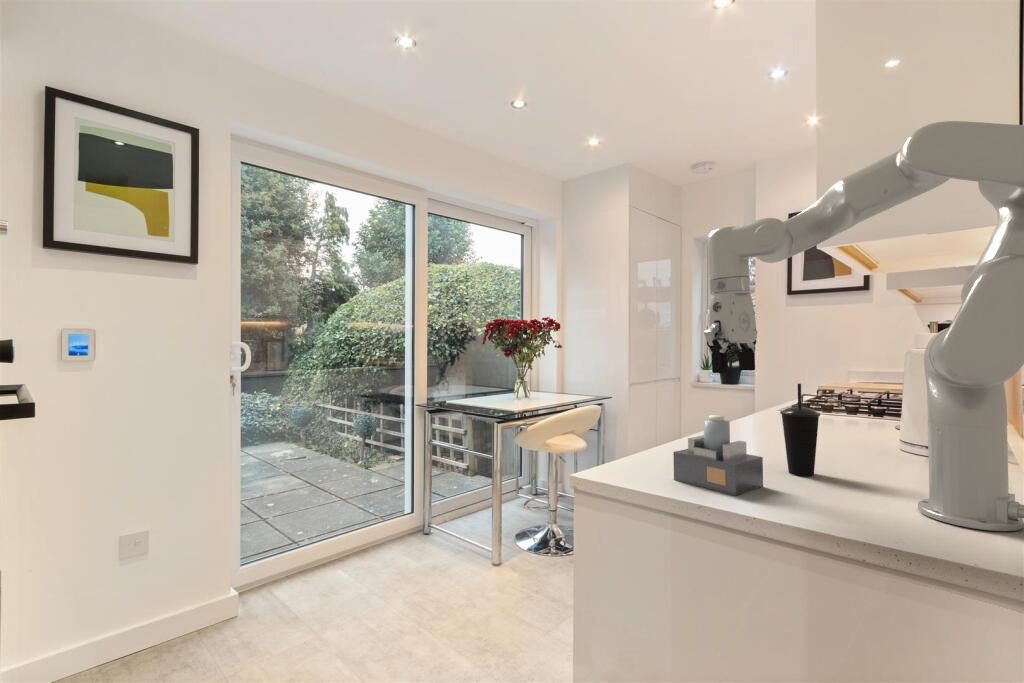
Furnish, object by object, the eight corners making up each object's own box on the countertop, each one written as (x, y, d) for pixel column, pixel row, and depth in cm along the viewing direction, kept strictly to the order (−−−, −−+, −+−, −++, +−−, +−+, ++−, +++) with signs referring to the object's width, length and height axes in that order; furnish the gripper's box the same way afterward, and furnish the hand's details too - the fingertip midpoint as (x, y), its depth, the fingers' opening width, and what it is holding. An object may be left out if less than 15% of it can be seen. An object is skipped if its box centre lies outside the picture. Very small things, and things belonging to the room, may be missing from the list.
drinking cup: (810, 469, 110) (808, 382, 111) (828, 478, 103) (826, 385, 103) (775, 469, 111) (773, 382, 111) (791, 478, 104) (789, 385, 104)
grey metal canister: (735, 454, 100) (734, 416, 100) (721, 458, 97) (720, 418, 97) (713, 450, 104) (712, 413, 104) (699, 453, 101) (698, 415, 102)
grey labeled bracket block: (763, 486, 98) (762, 442, 98) (735, 496, 92) (734, 448, 92) (701, 472, 109) (701, 432, 109) (673, 479, 104) (673, 437, 104)
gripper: (722, 284, 91) (727, 374, 91) (769, 287, 101) (774, 369, 100) (687, 289, 97) (692, 374, 97) (735, 292, 107) (740, 369, 107)
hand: (734, 371), depth 99 cm, fingers open, 9 cm apart
